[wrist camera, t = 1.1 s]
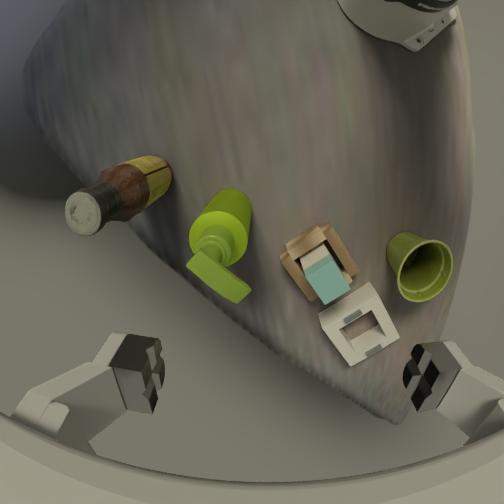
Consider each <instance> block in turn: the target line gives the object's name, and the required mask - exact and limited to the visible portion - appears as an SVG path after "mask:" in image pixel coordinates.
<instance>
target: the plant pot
mask: <svg viewBox="0 0 504 504" xmlns="http://www.w3.org/2000/svg"><path fill="white" fill-rule="evenodd" d="M415 249H416V251H415V254H414V256H412V255H413V253H414V250H415ZM386 255H387V259H388V261H389V263H390V265H391V267H392V269H393V271H394V273H395V275H396V277H397V286H398V289H399V291H400V293H401V295H402V296H403V297H404V298H405V299H407V300H409V301H412V302H424V301H427V300H430V299H431V298H433V297H435V296H436V295H438V294H439V293H440V292H441V291H442V290H443V289H444V287H445V286H446V285H447V283H448V281H449V279H450V277H451V274H452V270H453V256H452V253H451V251H450V249H449V247H448V246H447V245H446V244H444V243H443V242H441V241H438V240H426V239H424V238H422V237H419V236H417V235H415V234H412V233H410V232H401V233H399V234H398V235H396V236H394V237H393V238H392V239H391V240H390V242H389V244H388V246H387V250H386Z"/></svg>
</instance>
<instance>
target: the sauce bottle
mask: <svg viewBox="0 0 504 504" xmlns="http://www.w3.org/2000/svg"><path fill="white" fill-rule="evenodd" d="M171 182H172V171H171V168H170V165H169V163H168V162H167V161H166V160H164V159H163V158H161V157H158V156H155V155H152V156H144V157H140V158H137V159H134V160H130V161H127V162H124V163H121V164H117V165H115V166H113V167H111V168H109V169H106V170H103V171H102V172H101V174H100V176H99V178H98V180H97V182H96V183H95V185H94V186H92V187H91V188H83V189H80V190H78V191H77V192H74V193H73V194H72V195H71V196H70V197H69V199H68V200H67V202H66V207H65V216H66V220H67V223H68V225H69V227H70V228H71V229H72V230H73V231H74V232H76V233H77V234H78V235H81V236H91V235H93V234H95V233H97V232H98V231H99V230H101V229H102V228H103V226H104V225H105V223H107V222H109V221H113V220H114V221H122V222H125V221H129V220H130V219H131V218H132V217H134V216H135V215H136V214H138V213H140V212H141V211H142V210H144V209H145V208H146V207H147V206H149V205H150V204H151V203H153V202H154V201H155V200H157V199H158V198H159V197H161V196H162V195H163V194H164V193H165V192H166V191H167V190H168V188H169V186H170V184H171Z"/></svg>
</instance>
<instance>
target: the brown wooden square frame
mask: <svg viewBox="0 0 504 504" xmlns="http://www.w3.org/2000/svg"><path fill="white" fill-rule="evenodd" d="M326 239H327V240H328V242H329V244H330V245H331V247H332V248H333V250H334V251H335V253H336V255H337V256H338V258H339V260H340V261H341V263H342V264H343V265H342V266H341V267H339V268H340V270H341V272H342V274H343V275H344V277H345V279H346V281H347V283H348V284H350V283H351V282H353V281H352V279H351V277H352V276H354V275H355V274H357V273H358V272H360V271H359V270H358V268H357V266H356V265H355V263H354V261H353V259H352V258H351V256H350V254H349V253H348V251H347V249H346V248H345V246H344V244H343V243H342V241H341V239H340V238H339V236H338V235H337V233H336V231H335V230H334V228H333V227H332V226H331V224H330V223H329V222H328V223H326V224H325V225H323V226H322V227H320V228H319V226H318V225H317V224H315V225H314V226H312V227H311V228H309V229H308V230H306V231H305V232H303V233H302V234H300V235H299V236H297V237H295V238H294V239H292V240H291V241H289V242H288V243H286V248H287V250H285V251H284V252H282V253H280V260H281V263H282V264H283V266H284V267H285V268H286V270H287V271H288V272H289V274H290V275H291V277H292V278H293V279H294V281H295V282H296V283H297V285H298V286H299V287H300V289H301V290H302V292H303V293H304V294H305V296H306V297H307V298H308V300H309V301H310V302H312V301H313V300H315V299H317V298H318V297H319V296H318V294H317V293H316V291H315V290H314V289H313V287H312V286H311V284H310V283H309V282H308V280H307V279H306V277H305V274H304V271H303V268H302V266H301V265H300V263H299V262H298V260H297V258H298V257H300V256H301V255H303V254H304V253H306V252H307V251H309V250H311V249H312V248H314V247H315V246H317V245H318V244H320V243H321V242H323V241H324V240H326Z"/></svg>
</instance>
